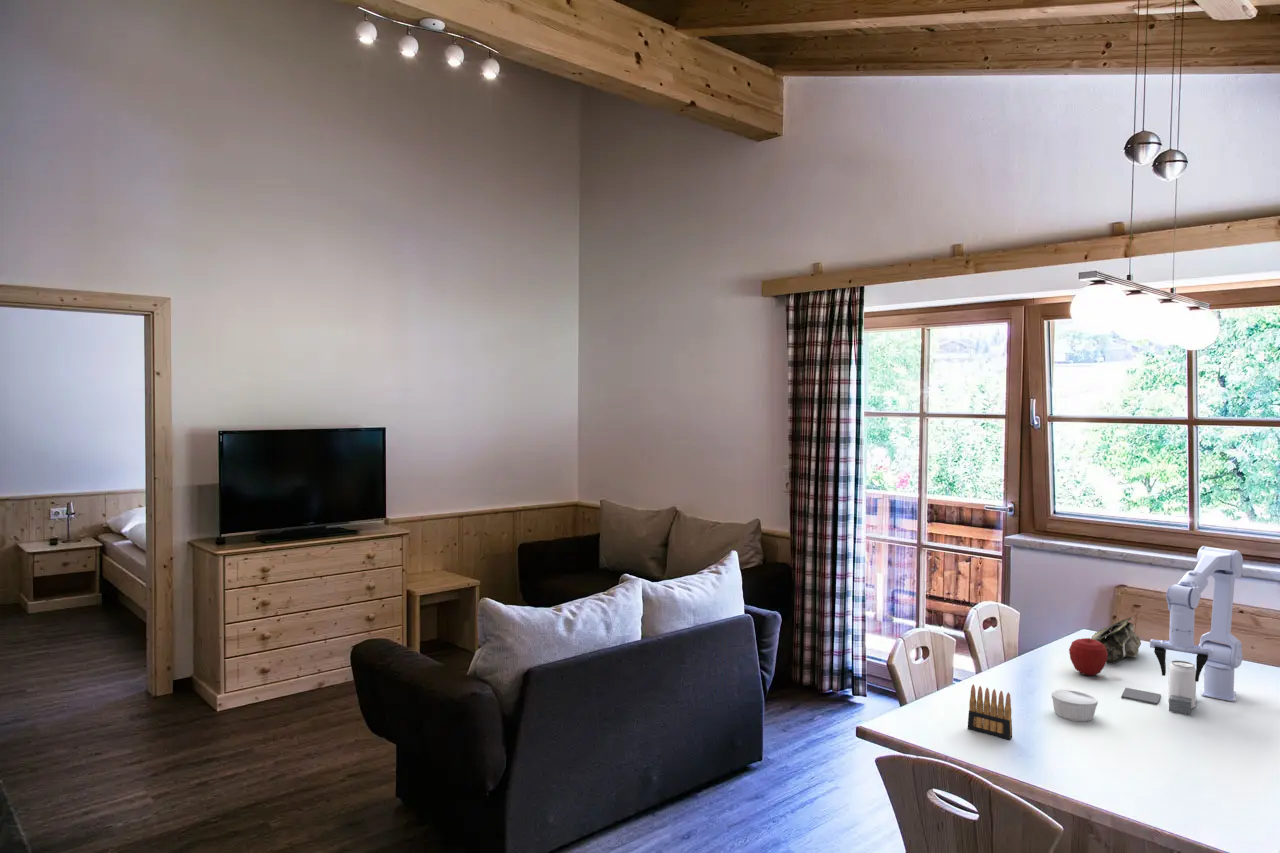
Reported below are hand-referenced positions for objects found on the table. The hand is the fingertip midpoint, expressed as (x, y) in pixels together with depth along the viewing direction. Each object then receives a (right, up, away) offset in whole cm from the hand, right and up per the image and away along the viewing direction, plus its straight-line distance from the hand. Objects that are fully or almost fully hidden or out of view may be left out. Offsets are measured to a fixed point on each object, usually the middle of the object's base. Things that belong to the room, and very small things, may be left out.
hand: (1180, 677), depth 230 cm
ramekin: (-30, -10, -1) cm, 32 cm away
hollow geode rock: (+11, -9, +52) cm, 54 cm away
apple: (-7, -9, +34) cm, 36 cm away
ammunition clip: (-59, -11, -14) cm, 61 cm away
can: (+6, -10, +8) cm, 14 cm away
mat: (-2, -10, +14) cm, 17 cm away
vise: (+6, -10, +8) cm, 14 cm away
